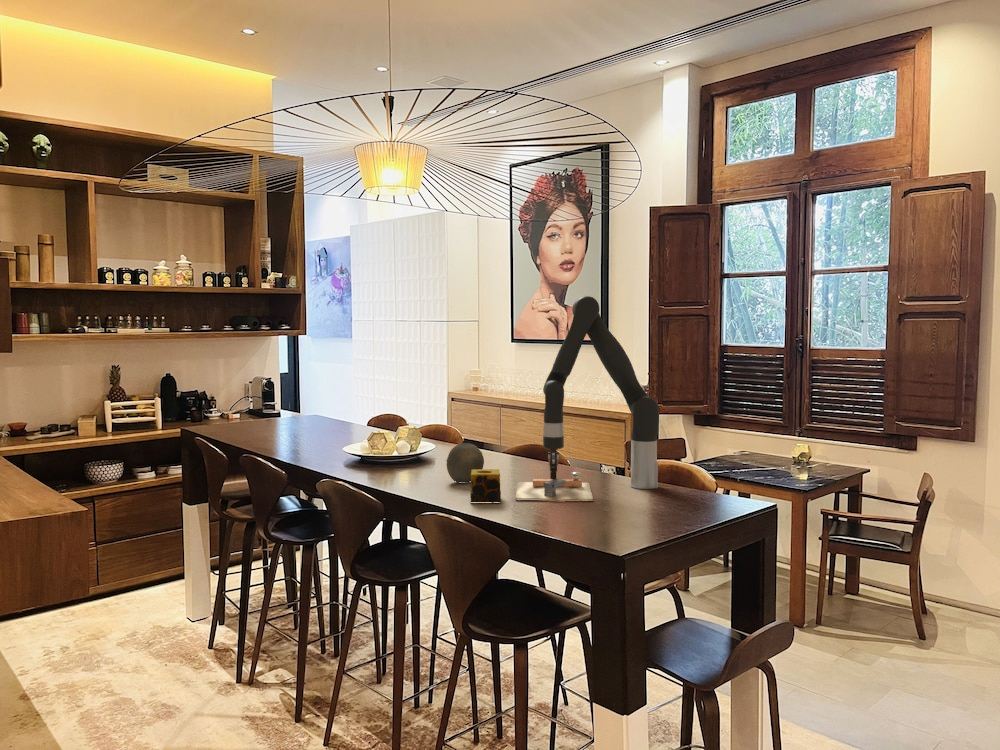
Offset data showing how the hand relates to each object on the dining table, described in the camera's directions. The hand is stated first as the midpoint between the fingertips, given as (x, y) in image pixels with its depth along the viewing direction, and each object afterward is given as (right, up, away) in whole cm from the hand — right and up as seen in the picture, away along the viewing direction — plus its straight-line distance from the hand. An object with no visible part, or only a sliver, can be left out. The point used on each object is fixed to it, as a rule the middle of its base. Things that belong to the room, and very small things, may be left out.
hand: (553, 482), depth 279 cm
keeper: (-1, -2, -17) cm, 17 cm away
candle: (-24, -4, -22) cm, 33 cm away
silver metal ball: (+8, +1, -4) cm, 9 cm away
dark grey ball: (-33, -2, +9) cm, 34 cm away
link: (+1, -1, -3) cm, 4 cm away
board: (-1, -3, -9) cm, 10 cm away
